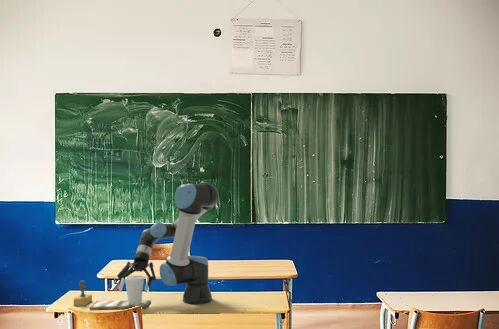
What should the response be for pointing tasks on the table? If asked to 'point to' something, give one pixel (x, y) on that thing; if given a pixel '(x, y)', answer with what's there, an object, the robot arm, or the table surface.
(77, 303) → the rubber stamp
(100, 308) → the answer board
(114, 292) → the table surface
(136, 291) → the foam cup
